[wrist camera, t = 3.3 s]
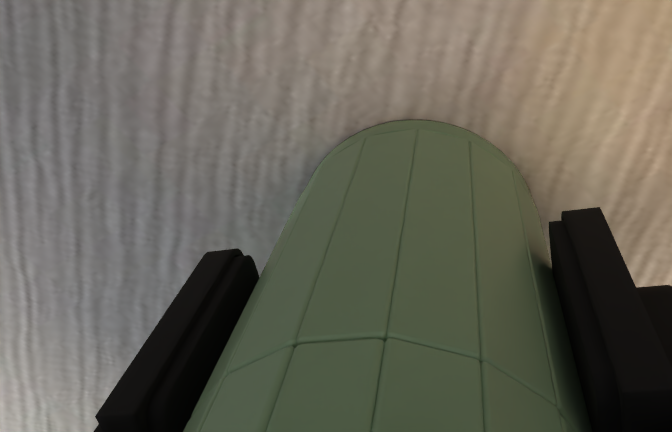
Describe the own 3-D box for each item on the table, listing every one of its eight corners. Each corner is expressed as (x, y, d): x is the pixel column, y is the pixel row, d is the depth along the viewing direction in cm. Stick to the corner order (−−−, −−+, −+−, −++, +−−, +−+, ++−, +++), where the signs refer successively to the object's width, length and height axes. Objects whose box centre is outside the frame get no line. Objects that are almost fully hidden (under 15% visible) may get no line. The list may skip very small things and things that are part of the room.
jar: (275, 139, 12) (48, 462, 5) (525, 99, 11) (639, 449, 4) (329, 331, 14) (213, 745, 8) (545, 315, 13) (643, 789, 6)
